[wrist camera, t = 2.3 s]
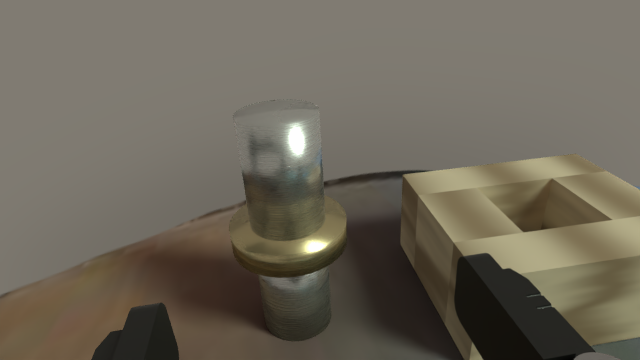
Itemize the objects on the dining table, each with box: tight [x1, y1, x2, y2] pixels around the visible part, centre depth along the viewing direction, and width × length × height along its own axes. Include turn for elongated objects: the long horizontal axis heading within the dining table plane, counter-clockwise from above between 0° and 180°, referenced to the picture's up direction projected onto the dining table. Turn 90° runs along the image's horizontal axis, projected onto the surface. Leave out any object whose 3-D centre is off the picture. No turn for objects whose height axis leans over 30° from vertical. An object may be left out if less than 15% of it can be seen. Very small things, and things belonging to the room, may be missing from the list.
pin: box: [229, 100, 347, 341], centre depth 25 cm, size 7×7×14 cm
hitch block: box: [400, 154, 640, 360], centre depth 28 cm, size 14×12×6 cm
